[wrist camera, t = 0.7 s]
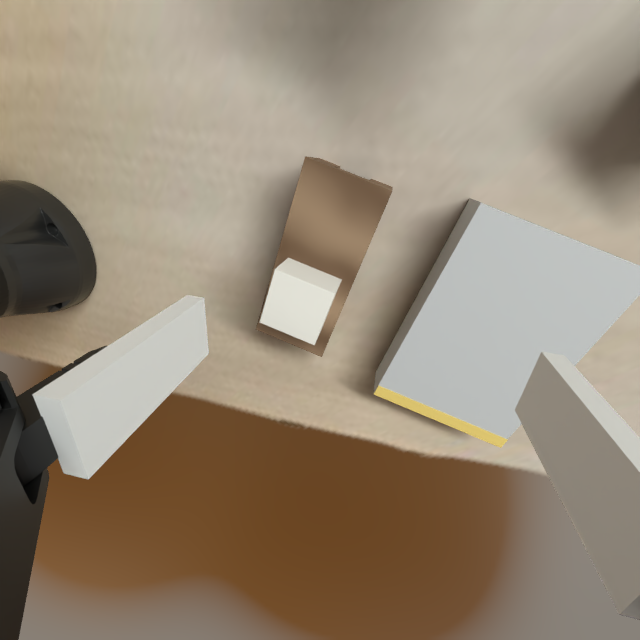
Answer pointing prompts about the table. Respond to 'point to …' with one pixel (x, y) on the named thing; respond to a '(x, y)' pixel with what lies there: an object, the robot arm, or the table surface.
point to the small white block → (299, 300)
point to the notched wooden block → (329, 233)
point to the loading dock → (499, 319)
